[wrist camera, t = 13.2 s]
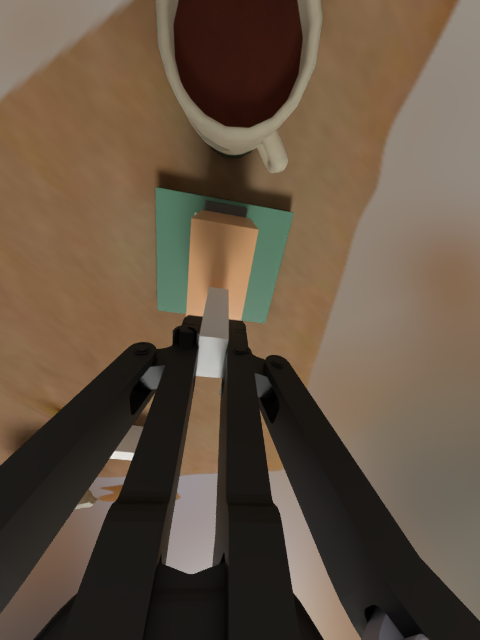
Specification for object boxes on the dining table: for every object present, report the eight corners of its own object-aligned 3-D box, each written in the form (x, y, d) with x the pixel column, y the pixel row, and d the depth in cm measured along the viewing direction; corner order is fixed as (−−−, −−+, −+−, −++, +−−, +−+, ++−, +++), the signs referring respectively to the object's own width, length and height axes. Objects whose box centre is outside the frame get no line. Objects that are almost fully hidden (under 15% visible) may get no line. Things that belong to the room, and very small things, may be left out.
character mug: (162, 72, 19) (72, -91, 8) (234, 6, 18) (248, -315, 6) (231, 197, 24) (235, 206, 13) (292, 155, 22) (357, 123, 11)
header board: (160, 305, 30) (143, 334, 24) (159, 187, 23) (135, 187, 17) (263, 317, 32) (272, 348, 26) (290, 211, 25) (310, 219, 19)
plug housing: (192, 334, 29) (183, 373, 23) (201, 209, 22) (191, 218, 16) (229, 338, 30) (230, 377, 24) (250, 218, 22) (258, 229, 16)
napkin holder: (173, 428, 44) (167, 459, 39) (134, 451, 47) (123, 482, 42) (107, 385, 37) (89, 415, 32) (66, 415, 40) (44, 446, 36)
